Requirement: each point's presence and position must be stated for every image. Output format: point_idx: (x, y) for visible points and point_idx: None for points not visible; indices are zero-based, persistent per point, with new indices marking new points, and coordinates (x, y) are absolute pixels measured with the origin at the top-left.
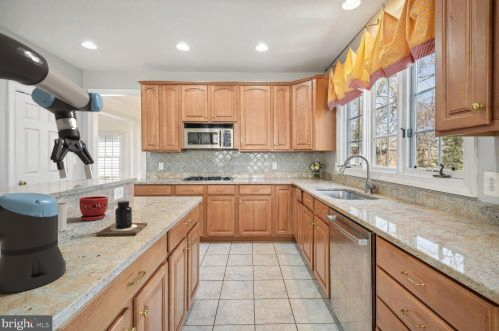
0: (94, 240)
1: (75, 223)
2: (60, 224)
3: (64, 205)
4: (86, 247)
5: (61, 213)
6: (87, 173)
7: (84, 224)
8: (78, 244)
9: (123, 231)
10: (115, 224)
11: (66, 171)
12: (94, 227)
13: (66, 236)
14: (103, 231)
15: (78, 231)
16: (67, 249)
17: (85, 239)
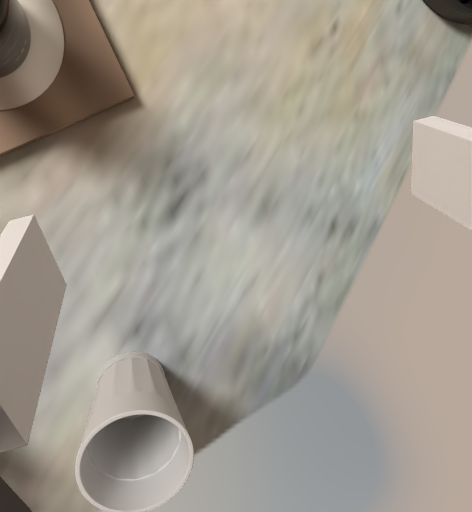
0: (177, 54)
1: None
2: (139, 364)
3: (124, 409)
4: (252, 7)
5: (138, 388)
6: (41, 300)
7: None
8: (238, 78)
9: None
10: None
11: (463, 134)
12: None
13: (185, 236)
14: (94, 89)
15: (111, 263)
16: (291, 66)
17: (183, 110)
